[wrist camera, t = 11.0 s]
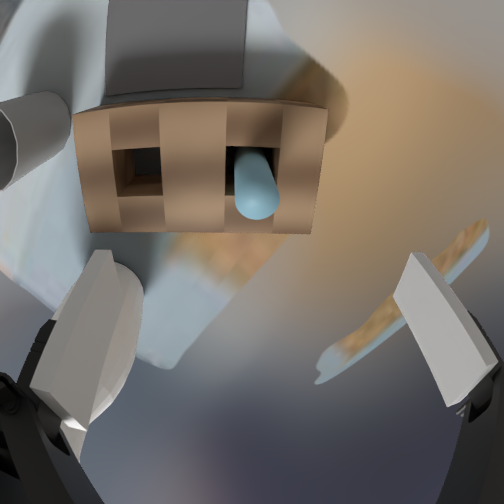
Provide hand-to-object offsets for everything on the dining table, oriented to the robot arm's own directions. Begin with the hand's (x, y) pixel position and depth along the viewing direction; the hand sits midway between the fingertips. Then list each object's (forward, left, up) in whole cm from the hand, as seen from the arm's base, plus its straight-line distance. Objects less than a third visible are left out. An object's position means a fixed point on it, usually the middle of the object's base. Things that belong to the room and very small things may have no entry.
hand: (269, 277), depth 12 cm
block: (0, -5, -21) cm, 21 cm away
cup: (-5, -24, -21) cm, 32 cm away
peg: (0, 0, -21) cm, 21 cm away
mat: (-14, -8, -21) cm, 26 cm away
